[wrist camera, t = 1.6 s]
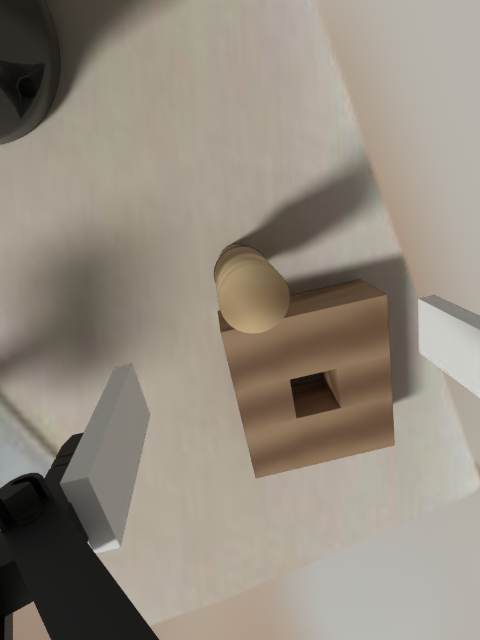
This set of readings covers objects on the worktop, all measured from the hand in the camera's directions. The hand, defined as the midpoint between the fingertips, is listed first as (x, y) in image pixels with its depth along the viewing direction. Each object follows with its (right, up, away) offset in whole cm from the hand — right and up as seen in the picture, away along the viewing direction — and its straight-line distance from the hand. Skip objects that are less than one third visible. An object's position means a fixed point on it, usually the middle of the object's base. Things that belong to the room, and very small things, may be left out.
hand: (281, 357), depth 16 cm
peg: (-2, +8, +21) cm, 22 cm away
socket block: (+5, -4, +26) cm, 27 cm away
